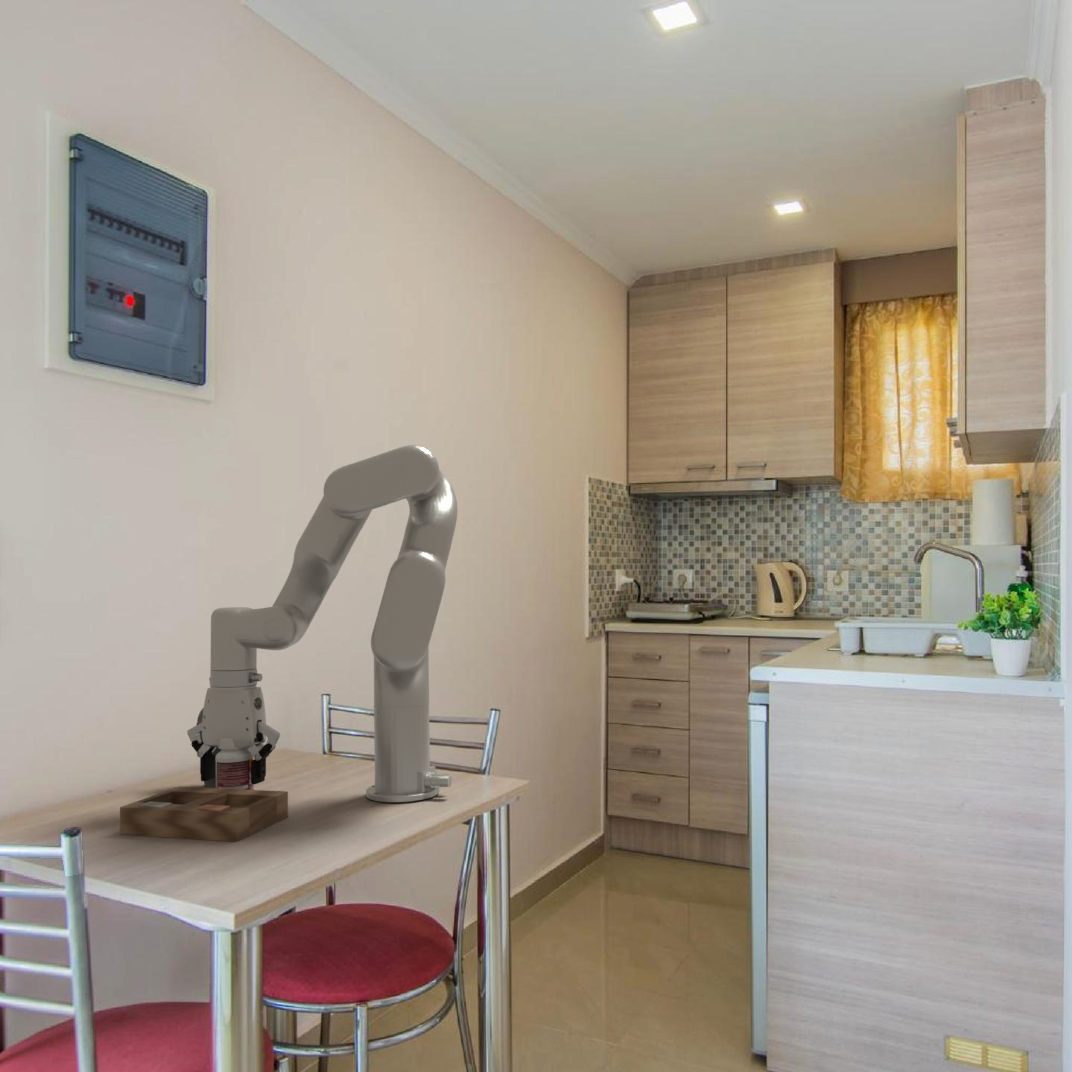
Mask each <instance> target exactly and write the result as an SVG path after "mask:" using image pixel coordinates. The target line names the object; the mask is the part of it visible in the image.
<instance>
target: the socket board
mask: <svg viewBox="0 0 1072 1072" xmlns="http://www.w3.org/2000/svg"><path fill="white" fill-rule="evenodd" d="M287 818H289V792H288V791H283V790H280V791H279V790H263V789H254V790H243V789H222V788H205V787H201V786H200V787H199V786H198V787H195V786H178V787H175V788H172V789H169V790H166V791H163V792H160V793H157V794H154V795H151V796H148V797H145V798H142V799H139V800H137V801H134V802H131V803H128V804H126V805H122V806H120V807H119V834H120V835H127V836H129V835H130V836H145V837H156V838H157V837H159V838H163V837H164V838H171V839H172V838H176V839H189V840H191V839H192V840H209V841H222V842H234V843H235V842H236V843H237V842H239V841H241V840H243V839H246V838H247V837H249V836H251V835H254V834H255V833H257V832H259V831H262V830H264V829H266V828H268V827H270V826H272V825H275V824H276V823H278V822H280V821H283V820H285V819H287Z"/></svg>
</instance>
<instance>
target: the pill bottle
mask: <svg viewBox="0 0 1072 1072" xmlns="http://www.w3.org/2000/svg"><path fill="white" fill-rule="evenodd" d="M218 748H219V749H221V751H220V752H219V753H218V754H217V755H216V758H215V770H216V788H222V789H243V790H255V786H254V785H255V784H252V783H251V761H252V760H254V757H253V756H252V754H251V753H250V751H249V750H248V749H247V748H237V747H235V746H234V743H233V741H232V739H220V743H219V746H218Z"/></svg>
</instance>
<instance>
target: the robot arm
mask: <svg viewBox="0 0 1072 1072" xmlns="http://www.w3.org/2000/svg"><path fill="white" fill-rule="evenodd" d="M404 499H405V500H406V501H407V504H408V506H409V507H408V508H409V515H408V519H407V523H406V526H405V531H404V535H403V538H402V542H401V547H400V549H399V552H398V555H397V558H396V560H394V561H393V563H392V565H391V567H390V568H389V572H388V576H387V578H386V583H385V587H384V589H383V593H382V596H381V597H382V598H381V601H380V604H379V608H378V611H377V616H376V619H375V622H374V626H373V630H372V633H371V637H370V648H371V652H372V656H373V724H374V725H373V726H374V727H373V733H374V734H373V737H374V740H373V742H374V743H373V744H374V747H373V749H374V784H373V785H370V786H368V787H367V788H366V790H365V796H366V798H367V799H369V800H371V801H375V802H381V803H408V802H418V801H423V800H427V799H431V798H433V797H435V796H437V795H438V794H439V793H440V788H451V787H452V785H453V783H452V782H453V779H452V778H453V777H452V776H451V775H450V774H449V773H442V774H441V773H438V772H436V765H431V757H430V756H431V752H430V749H431V748H430V738H431V737H430V678H429V677H430V674H429V669H430V668H429V667H430V665H429V662H430V661H429V660H430V659H429V651H430V650H429V646H430V642H431V639H432V634H433V631H434V628H435V624H436V621H437V617H438V613H439V609H440V606H441V603H442V598H443V595H444V591H445V586H446V580H447V579H446V568H447V562H448V559H449V557H450V556H449V555H450V553H451V552H450V551H451V547H452V544H453V540H454V535H455V531H456V526H457V521H458V501H457V497H456V493H455V490H454V488H453V486H452V483H451V482H450V480H449V479H448V477H447V476H446V475H445V473H443V471H442V470H441V469H440V466H439V462H438V459H437V457H436V456H435V454H434V453H433V452H432V451H431V450H429V449H428V448H427V447H424V446H421V445H416V444H409V445H403V446H400V447H397V448H394V449H392V450H388V451H385V452H383V453H379V454H377V455H374V456H370V457H367V458H364V459H362V460H359V461H356V462H353V463H348V464H346V465H343V466H341V467H339V468H337V469H335V470H333V471H332V472H331V473H330V474H329V475H328V476H327V478H326V480H325V481H324V485H323V496H322V498H321V500H320V502H319V503H318V506H317V507H316V509H315V511H314V513H313V515H312V516H311V518H310V520H309V522H308V523H307V526H306V527H305V529H304V531H303V532H302V534H301V536H300V538H299V539H298V541H297V544H296V547H295V550H294V553H293V560H292V565H291V569H290V571H289V574H288V576H287V578H286V580H285V582H284V584H283V586H282V588H281V590H280V592H279V594H278V595H277V597H276V599H275V601H274V603H273V605H272V606H268V607H262V608H251V607H243V606H237V607H236V606H235V607H234V606H233V607H231V606H229V607H218V608H216V609H214V610H213V611H212V613H211V617H210V663H209V664H210V666H209V667H210V668H209V669H210V671H209V673H210V674H209V675H210V676H209V678H210V680H209V687H207V688H206V693H205V697H204V703H203V708H204V709H203V708H202V709H203V720H202V723H200V724H198V725H194V726H193V727H191V728H189V729H188V730H187V731H186V732H187V736H188V739H189V740H190V742H191V743H190V745H191V747H192V748H193V750H194V751H195V752H196V756H197V758H200V760H199V762H200V763H199V765H200V767H199V771H200V772H199V773H200V781H201V782H204V781H207V780H210V779H213V778H215V755H213V754H212V753H213V751H214V750H215V749H216V747H218V746H219V743H220V739H232V741H233V743H234V746H235V747H237V748H247V749H248V750H249V751H250V753H251V754H252V756H253V760H252V761H251V783H252V784H254V785H258V784H260V783H263V782H265V780H266V778H265V777H266V775H267V758H268V757H269V756H270V754H271V753H272V752H273V751H274V750H275V748H276V745H277V743H278V741H279V740H280V737H281V733H280V732H279V730H276V729H274V728H273V727H271V726H269V725H268V724H267V718H266V717H267V716H266V707H265V706H266V705H265V701H264V694H263V690H262V687H261V686H257V684H258V682H262V680H263V674H262V673H258V669H257V662H258V661H257V657H258V655H257V652H258V651H257V649H260V650H267V651H268V650H269V651H281V650H286V649H288V648H290V647H292V646H294V645H296V644H297V643H299V642H300V641H301V640H302V638H303V637H304V636H305V634H306V633H307V631H308V629H309V627H310V625H311V623H312V621H313V619H314V618H315V616H316V614H317V612H318V611H319V609H320V606H321V605H322V603H323V601H324V599H325V598H326V596H327V593H328V591H329V589H330V587H331V586H332V584H333V583H334V581H335V579H336V578H337V577H338V575H339V572H340V570H341V568H342V567H343V565H344V562H345V561H346V558H347V556H348V555H349V553H350V551H351V550H352V547H353V546H354V543H355V542H356V539H357V538H358V536H359V534H360V532H362V529H363V527H364V525H365V524H366V522H367V520H368V518H369V517H370V515H371V514H372V511H373V510H376V509H378V508H381V507H382V508H383V507H385V506H387V505H391V504H393V503H396V502H400V501H402V500H404ZM201 732H202V740H201V739H200V733H201ZM265 742H266V743H265ZM264 743H265V744H264Z"/></svg>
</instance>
